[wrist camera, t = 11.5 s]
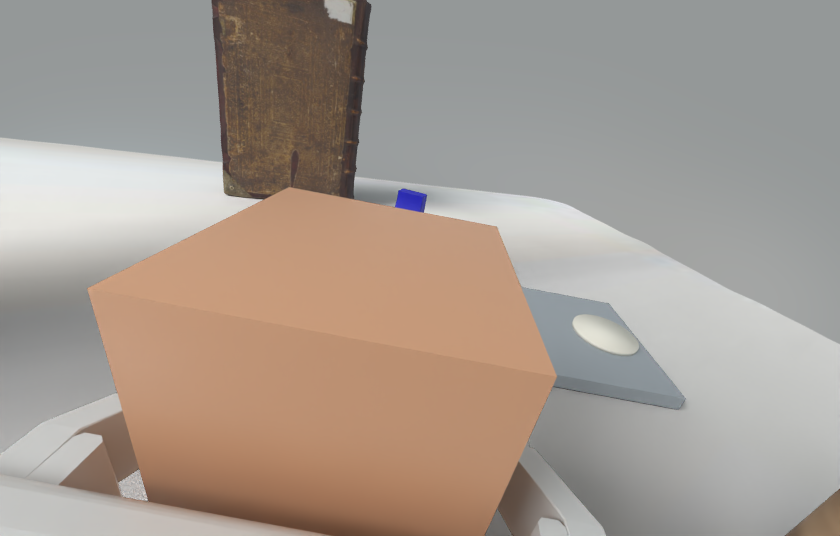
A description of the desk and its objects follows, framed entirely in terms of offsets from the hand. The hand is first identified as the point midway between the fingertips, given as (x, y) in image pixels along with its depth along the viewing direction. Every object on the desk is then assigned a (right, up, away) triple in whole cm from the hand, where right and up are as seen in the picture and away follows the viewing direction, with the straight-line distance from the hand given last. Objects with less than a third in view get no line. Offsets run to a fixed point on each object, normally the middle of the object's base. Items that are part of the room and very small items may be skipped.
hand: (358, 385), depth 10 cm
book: (-16, +13, +38) cm, 44 cm away
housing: (-1, -6, +2) cm, 6 cm away
